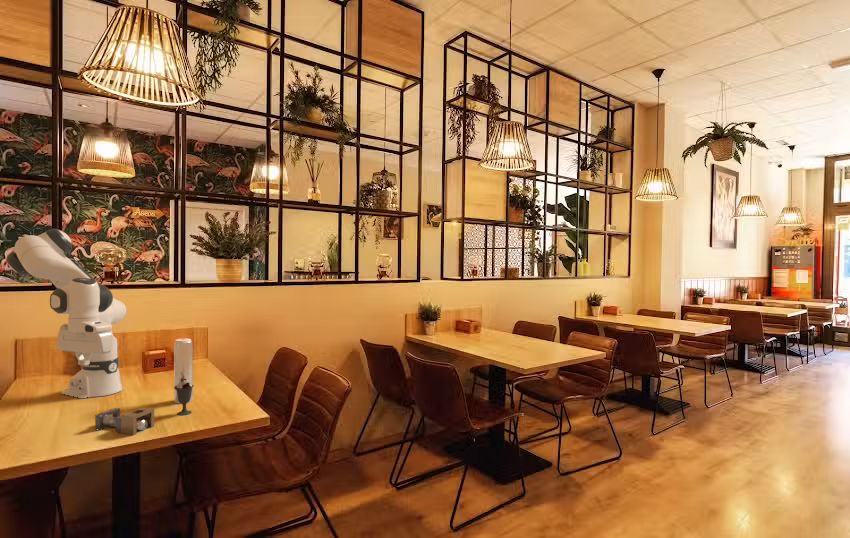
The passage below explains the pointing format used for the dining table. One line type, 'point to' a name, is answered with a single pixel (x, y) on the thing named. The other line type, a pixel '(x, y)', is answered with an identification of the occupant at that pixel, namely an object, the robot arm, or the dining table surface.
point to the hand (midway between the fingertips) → (83, 364)
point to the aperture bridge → (130, 420)
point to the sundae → (184, 394)
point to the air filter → (182, 363)
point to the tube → (112, 422)
